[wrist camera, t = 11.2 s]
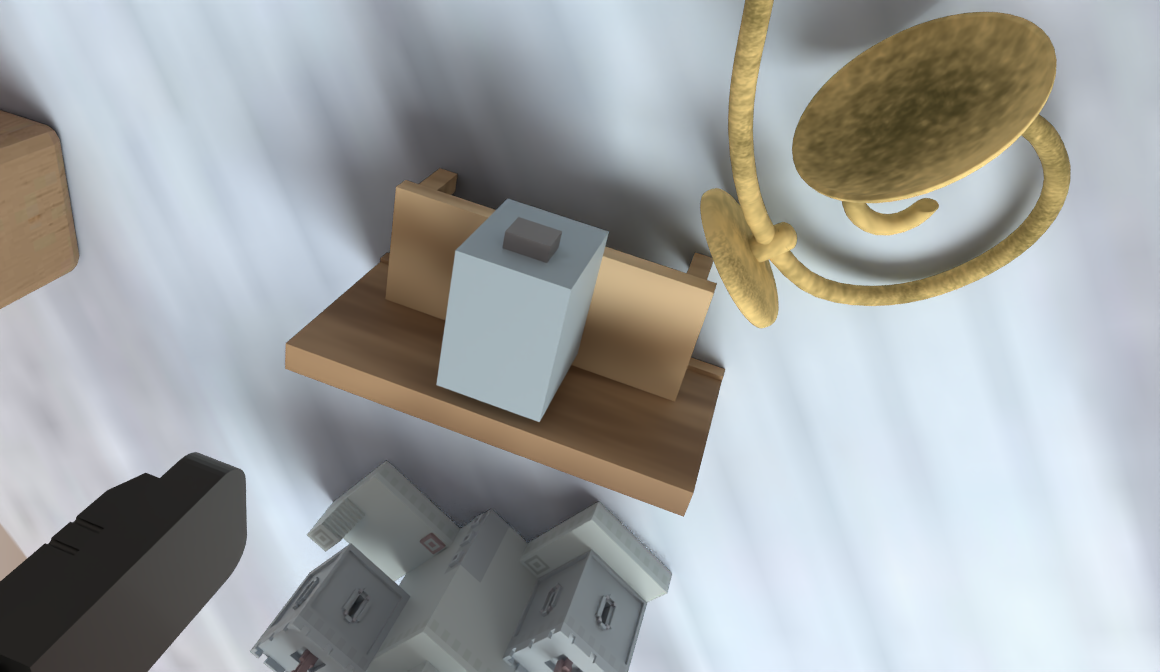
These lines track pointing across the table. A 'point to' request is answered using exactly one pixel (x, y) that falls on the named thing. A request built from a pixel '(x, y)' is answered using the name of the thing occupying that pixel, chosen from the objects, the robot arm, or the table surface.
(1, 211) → the block
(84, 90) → the table surface
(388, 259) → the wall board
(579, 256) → the grey rectangular box
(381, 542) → the castle model
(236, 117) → the table surface
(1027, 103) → the wall sconce
